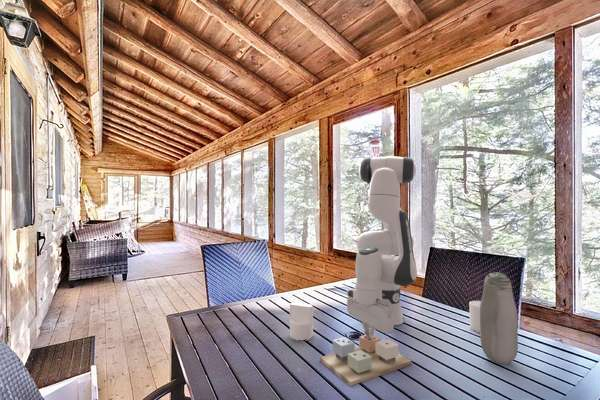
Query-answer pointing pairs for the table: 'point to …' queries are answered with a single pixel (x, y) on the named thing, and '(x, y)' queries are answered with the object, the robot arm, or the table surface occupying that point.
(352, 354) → the tile two
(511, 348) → the grey tall rounded block
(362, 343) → the tile four
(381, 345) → the tile one
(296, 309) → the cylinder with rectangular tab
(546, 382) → the table surface
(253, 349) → the table surface
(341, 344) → the tile three
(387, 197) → the robot arm
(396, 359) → the board
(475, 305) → the mug
